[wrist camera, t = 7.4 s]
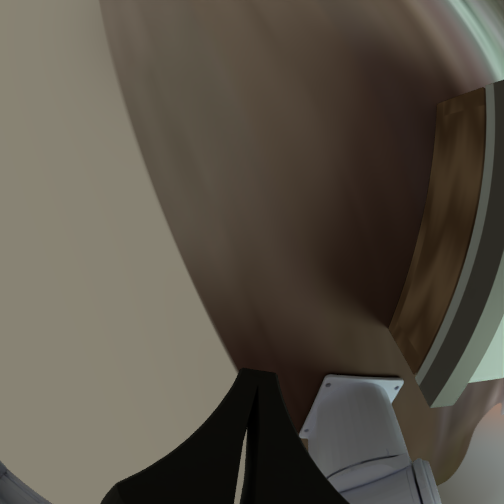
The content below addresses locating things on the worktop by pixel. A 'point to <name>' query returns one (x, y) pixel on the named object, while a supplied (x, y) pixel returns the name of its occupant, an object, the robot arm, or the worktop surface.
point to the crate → (443, 225)
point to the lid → (475, 285)
